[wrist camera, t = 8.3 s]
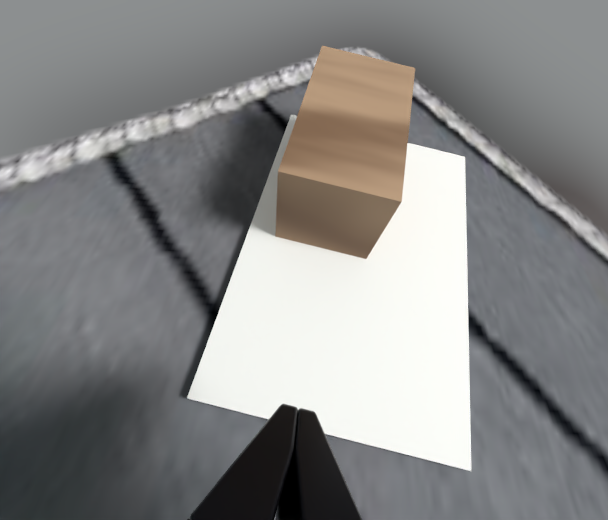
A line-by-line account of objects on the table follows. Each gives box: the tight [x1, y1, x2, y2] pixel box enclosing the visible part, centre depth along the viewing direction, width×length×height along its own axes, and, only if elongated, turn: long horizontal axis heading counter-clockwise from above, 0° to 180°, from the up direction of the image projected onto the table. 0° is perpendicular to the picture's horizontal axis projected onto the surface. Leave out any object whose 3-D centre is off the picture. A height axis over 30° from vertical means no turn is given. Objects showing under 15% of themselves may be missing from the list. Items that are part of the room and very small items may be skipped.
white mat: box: [187, 115, 471, 471], centre depth 17 cm, size 18×12×1 cm, turn 167°
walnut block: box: [275, 46, 415, 259], centre depth 17 cm, size 5×5×9 cm
